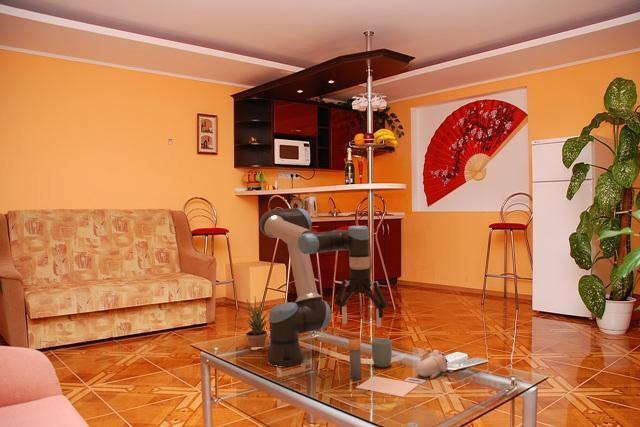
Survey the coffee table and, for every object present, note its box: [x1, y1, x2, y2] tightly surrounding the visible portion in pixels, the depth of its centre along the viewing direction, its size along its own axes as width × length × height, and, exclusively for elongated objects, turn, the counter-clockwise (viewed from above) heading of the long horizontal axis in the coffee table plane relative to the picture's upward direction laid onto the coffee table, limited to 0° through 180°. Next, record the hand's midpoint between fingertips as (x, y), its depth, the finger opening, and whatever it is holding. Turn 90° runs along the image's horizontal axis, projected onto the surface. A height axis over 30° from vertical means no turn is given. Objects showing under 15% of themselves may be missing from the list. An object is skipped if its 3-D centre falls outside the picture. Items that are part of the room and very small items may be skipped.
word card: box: [402, 376, 427, 385], centre depth 191 cm, size 7×4×1 cm, turn 56°
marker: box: [348, 338, 362, 381], centre depth 195 cm, size 4×4×14 cm
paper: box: [355, 375, 420, 398], centre depth 186 cm, size 18×13×1 cm
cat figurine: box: [415, 349, 449, 379], centre depth 197 cm, size 10×8×15 cm
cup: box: [371, 337, 393, 368], centre depth 208 cm, size 8×8×10 cm
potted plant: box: [245, 297, 268, 348], centre depth 239 cm, size 10×10×25 cm
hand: (361, 325), depth 196 cm, fingers open, 13 cm apart
